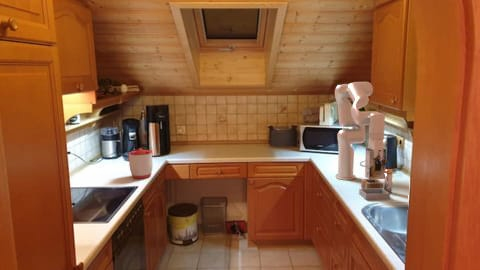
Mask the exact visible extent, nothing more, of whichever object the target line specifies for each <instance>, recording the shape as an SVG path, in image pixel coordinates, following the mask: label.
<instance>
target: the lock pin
mask: <svg viewBox="0 0 480 270" xmlns="http://www.w3.org/2000/svg"><path fill="white" fill-rule="evenodd" d="M383 189H384V190H385V191H387V192H388V193H390V194H392V190H393V169H390V168H389V169H388V168H386V174H385V179H384V183H383Z"/></svg>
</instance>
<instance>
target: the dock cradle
mask: <svg viewBox="0 0 480 270" xmlns="http://www.w3.org/2000/svg"><path fill="white" fill-rule="evenodd" d="M358 194H359V196H361V197H362V198H363V199H364V200H366V201H370V200H371V201H375V200H381V201H382V200H390V199H391V193H388V192H387V191H385V190H384V187H383V188H374V189H363V188H359V191H358Z"/></svg>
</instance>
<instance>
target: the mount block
mask: <svg viewBox="0 0 480 270" xmlns="http://www.w3.org/2000/svg"><path fill="white" fill-rule="evenodd" d="M360 182H361V184H360V187H361V188H360V189H374V188H383V189H384V183H383V182H382V181H380V179H371V180H369V179H368V178H364V179H363V178H362V179H361V181H360Z"/></svg>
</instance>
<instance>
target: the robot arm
mask: <svg viewBox="0 0 480 270" xmlns="http://www.w3.org/2000/svg"><path fill="white" fill-rule="evenodd" d="M373 91H374V87H373V85H372V83H370V82H369V81H354V82H350V83H343V84H337V86H336V87H335V89H334V98H335V101H336V104H337V112H338V115H337V116H338V124H339V126H340V127H343V129H340V130H339V131H338V133H337V134H336V135H337V137H336V138H337V145H338V152H337V153H338V160H337V162H338V163H337V174H335V178H336V179H339V180H344V181H351V180H355V179H356V178H357V177H356V175H355V174H354V161H355V150H354V148H353V147H352V146H351V145H357V144H363V143H365V142H366V139H367V138H366V134H367V133H366V126H369V128H368V130H369V131H368V132H369V133H368V146H367V148H370V149H372V150H373V158H375V157H376V163H375V171H381V163H382V159H383V148H384V139H385V125H386V124H385V122H386V120H385V118H386V117H385V114H384V113H383V112H379V111H377V110H373V111H372V110H371V111H368V110H367V111H361V110H359V109H362V108H364V107H366V106H367V105H368V103H369V101H370V98H369V96H371V95H372V94H373ZM348 98H349V99H351V100H352V102H353V103H351V101H350V100H349V99H348ZM349 127H350V128H349ZM345 128H346V129H345ZM377 156H379V157H377ZM377 159H378V161H377Z"/></svg>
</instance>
